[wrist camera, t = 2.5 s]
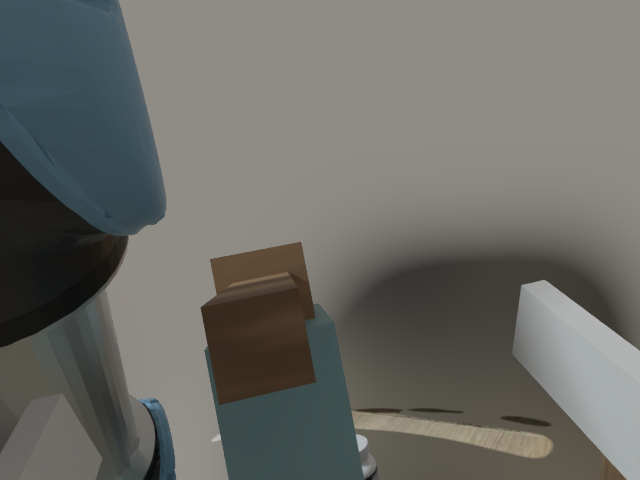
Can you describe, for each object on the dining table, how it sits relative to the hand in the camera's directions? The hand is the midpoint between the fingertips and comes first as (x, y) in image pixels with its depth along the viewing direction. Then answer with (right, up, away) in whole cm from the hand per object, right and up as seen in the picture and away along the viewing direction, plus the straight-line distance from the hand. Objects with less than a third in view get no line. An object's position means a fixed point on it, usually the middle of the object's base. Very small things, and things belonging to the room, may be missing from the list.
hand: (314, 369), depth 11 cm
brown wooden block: (-3, -3, +15) cm, 16 cm away
